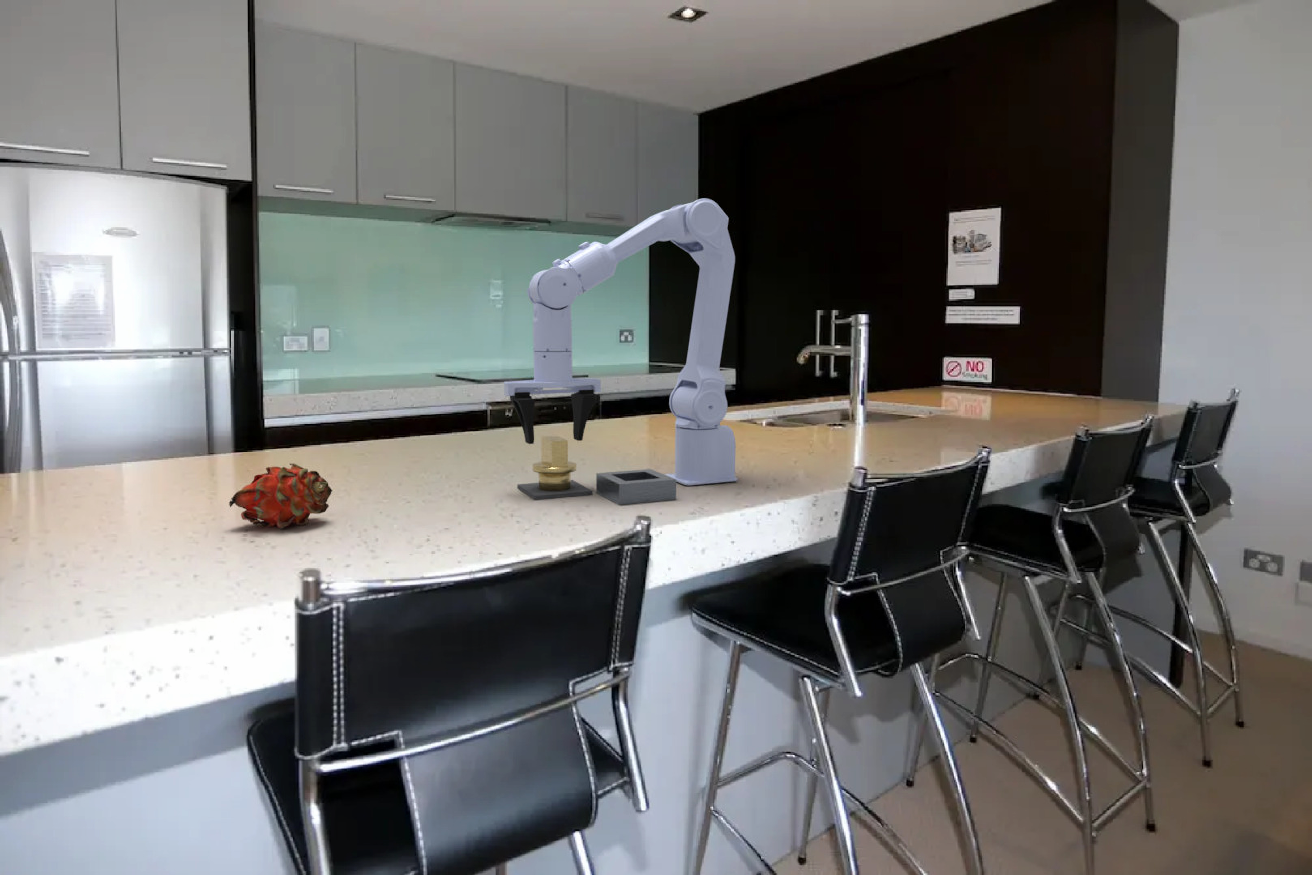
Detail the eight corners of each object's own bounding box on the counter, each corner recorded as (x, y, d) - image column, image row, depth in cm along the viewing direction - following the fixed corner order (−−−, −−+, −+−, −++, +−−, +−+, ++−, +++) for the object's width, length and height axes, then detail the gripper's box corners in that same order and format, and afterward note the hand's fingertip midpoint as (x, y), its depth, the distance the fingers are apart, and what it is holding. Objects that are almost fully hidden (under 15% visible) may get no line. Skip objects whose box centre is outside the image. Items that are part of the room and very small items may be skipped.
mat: (572, 483, 134) (572, 479, 134) (592, 494, 126) (592, 490, 126) (517, 488, 131) (517, 484, 131) (534, 499, 123) (534, 495, 123)
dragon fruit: (341, 534, 109) (241, 556, 105) (334, 486, 115) (238, 505, 111) (330, 491, 103) (223, 512, 99) (323, 443, 109) (221, 461, 105)
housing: (650, 487, 132) (650, 468, 131) (676, 499, 123) (676, 479, 123) (596, 492, 128) (596, 473, 127) (619, 505, 120) (619, 484, 119)
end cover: (568, 482, 133) (567, 434, 131) (582, 490, 127) (582, 440, 126) (527, 485, 130) (526, 436, 129) (540, 493, 124) (539, 442, 123)
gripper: (589, 349, 132) (589, 435, 134) (497, 350, 126) (500, 440, 128) (605, 351, 126) (606, 441, 128) (510, 352, 120) (512, 447, 122)
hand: (554, 441), depth 127 cm, fingers open, 7 cm apart
